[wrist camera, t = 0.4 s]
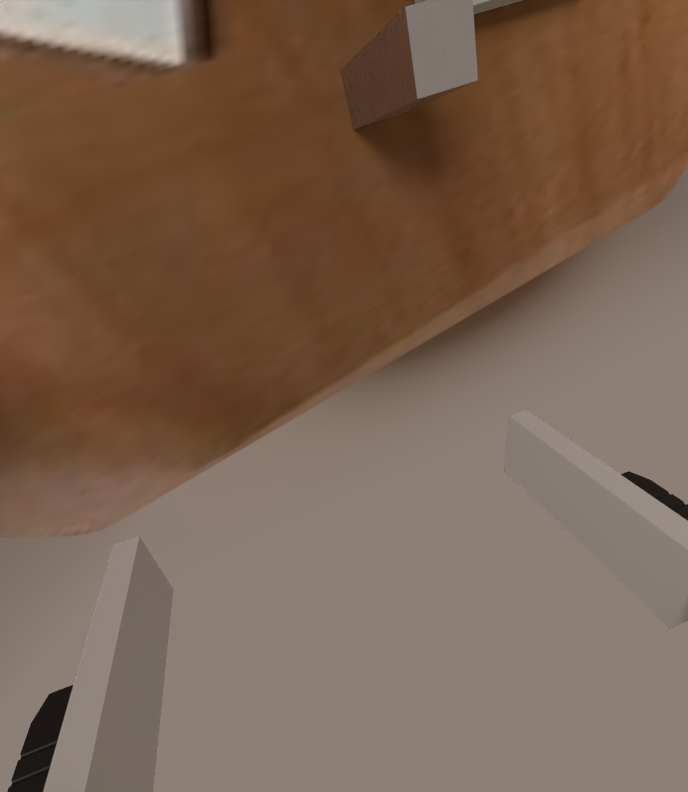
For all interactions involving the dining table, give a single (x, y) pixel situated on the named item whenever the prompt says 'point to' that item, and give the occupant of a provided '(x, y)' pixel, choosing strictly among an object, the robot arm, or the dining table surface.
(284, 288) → the dining table surface
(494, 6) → the socket board
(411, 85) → the square peg
